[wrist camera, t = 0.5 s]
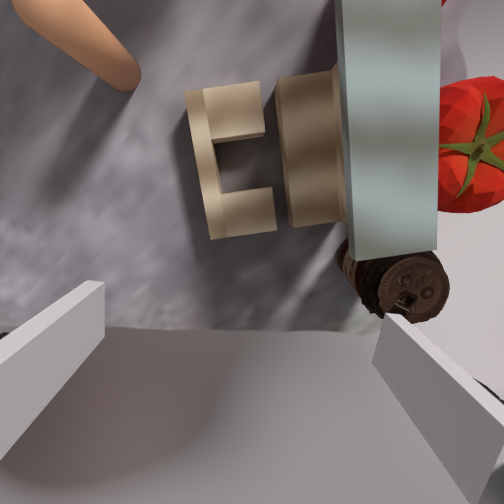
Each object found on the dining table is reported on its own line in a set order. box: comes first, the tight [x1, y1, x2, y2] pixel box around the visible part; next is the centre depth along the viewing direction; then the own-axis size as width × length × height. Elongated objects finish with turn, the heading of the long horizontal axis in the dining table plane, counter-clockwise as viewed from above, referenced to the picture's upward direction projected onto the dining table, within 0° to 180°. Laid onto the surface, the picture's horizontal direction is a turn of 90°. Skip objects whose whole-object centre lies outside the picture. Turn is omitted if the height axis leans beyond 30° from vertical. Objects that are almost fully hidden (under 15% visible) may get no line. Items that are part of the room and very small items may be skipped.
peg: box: [12, 0, 141, 92], centre depth 26 cm, size 4×4×14 cm
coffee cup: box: [338, 238, 450, 324], centre depth 33 cm, size 9×8×13 cm
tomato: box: [437, 76, 504, 213], centre depth 32 cm, size 14×13×10 cm
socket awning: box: [184, 0, 442, 261], centre depth 27 cm, size 16×17×19 cm
